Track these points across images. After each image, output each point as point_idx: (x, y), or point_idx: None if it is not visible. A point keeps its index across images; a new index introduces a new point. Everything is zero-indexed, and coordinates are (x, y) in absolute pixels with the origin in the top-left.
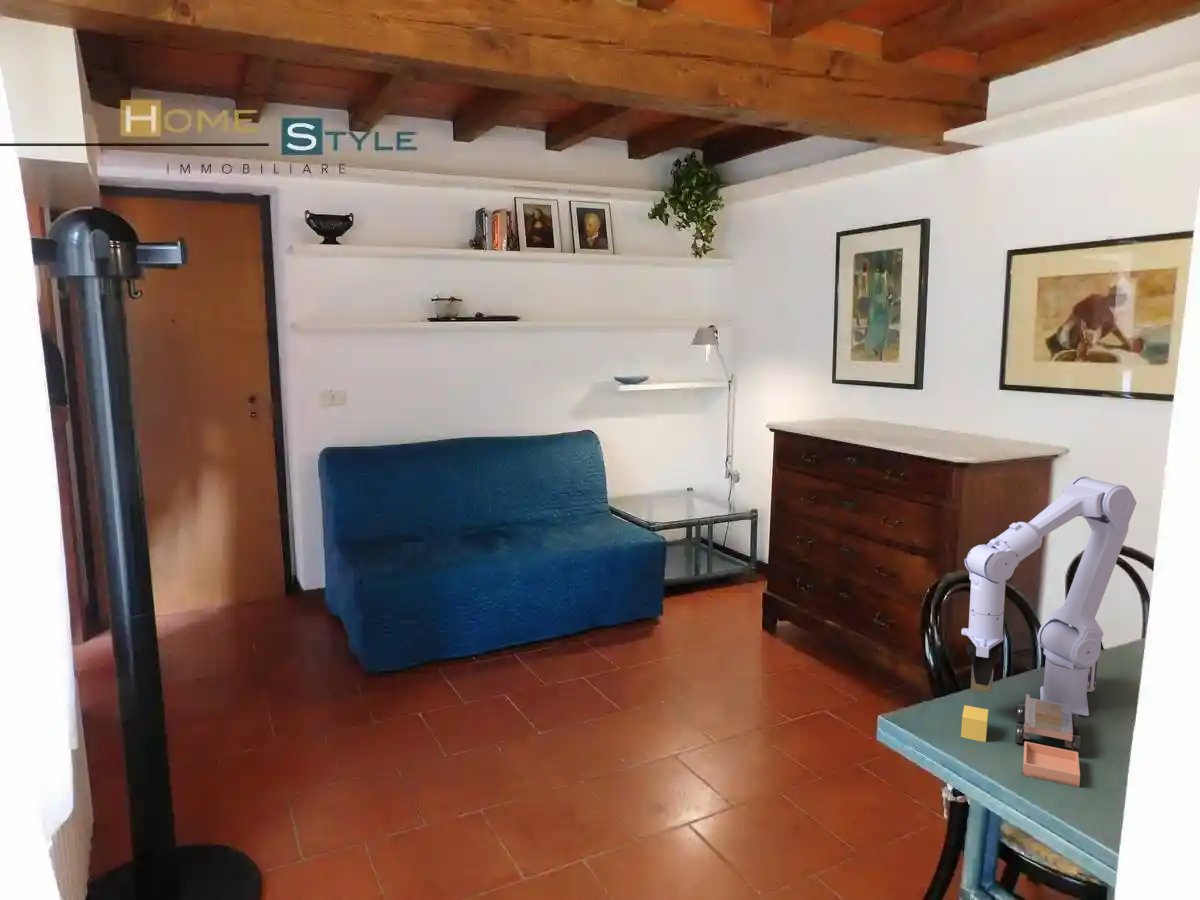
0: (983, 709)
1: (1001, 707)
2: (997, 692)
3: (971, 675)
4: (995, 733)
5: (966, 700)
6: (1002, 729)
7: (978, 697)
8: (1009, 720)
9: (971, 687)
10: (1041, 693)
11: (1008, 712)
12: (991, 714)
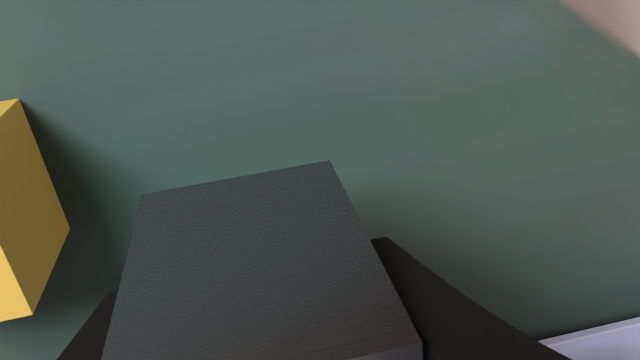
0: (3, 291)
1: (417, 216)
2: (604, 153)
3: (120, 287)
4: (55, 274)
5: (416, 26)
6: None
7: (495, 81)
8: None
9: (140, 212)
10: (632, 329)
11: None
12: None
